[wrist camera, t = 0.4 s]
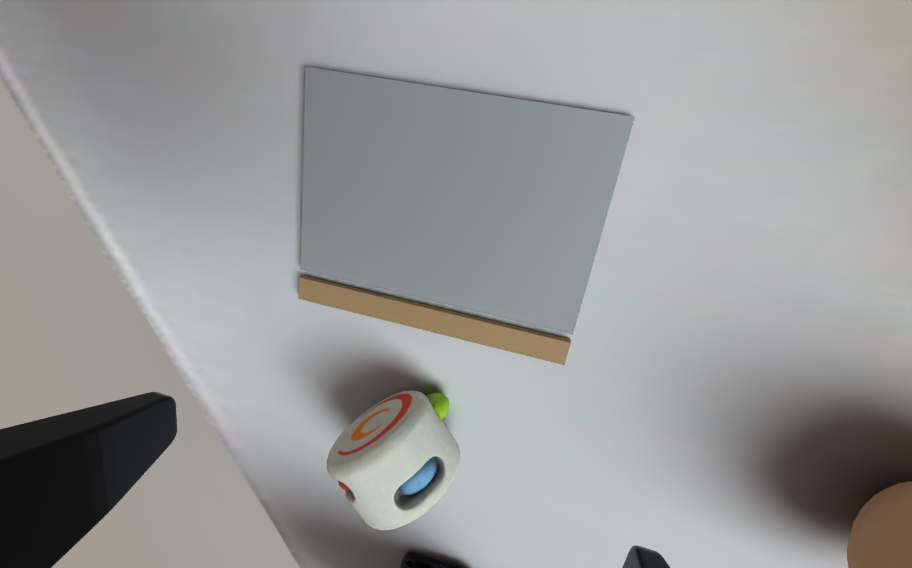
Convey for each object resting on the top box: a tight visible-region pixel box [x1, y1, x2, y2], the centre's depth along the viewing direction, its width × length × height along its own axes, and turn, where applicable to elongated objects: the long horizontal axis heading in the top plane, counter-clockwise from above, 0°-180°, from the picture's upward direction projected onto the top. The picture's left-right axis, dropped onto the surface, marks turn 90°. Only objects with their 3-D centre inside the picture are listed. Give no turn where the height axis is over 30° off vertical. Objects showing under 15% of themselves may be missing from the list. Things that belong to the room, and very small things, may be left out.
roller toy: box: [327, 391, 460, 530], centre depth 21 cm, size 4×6×6 cm
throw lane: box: [299, 67, 634, 365], centre depth 19 cm, size 11×14×1 cm
